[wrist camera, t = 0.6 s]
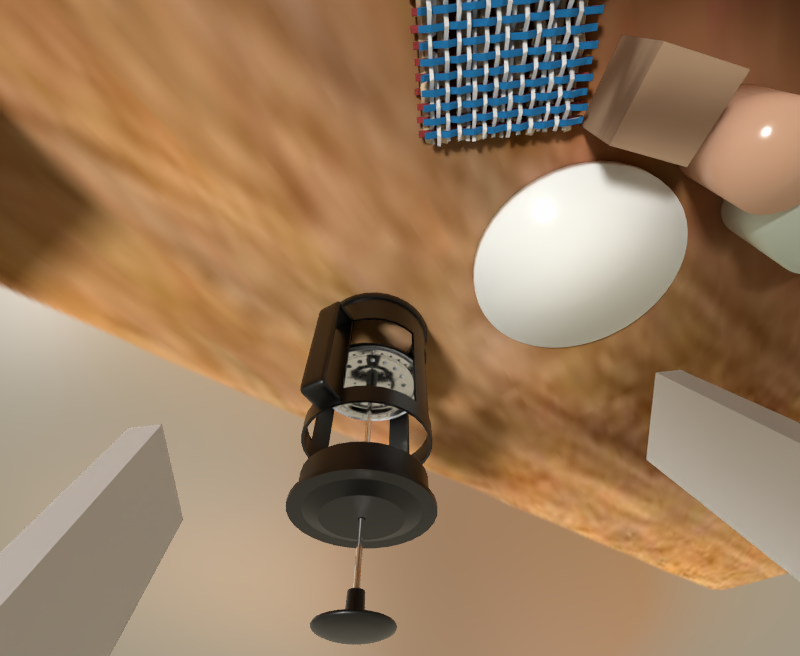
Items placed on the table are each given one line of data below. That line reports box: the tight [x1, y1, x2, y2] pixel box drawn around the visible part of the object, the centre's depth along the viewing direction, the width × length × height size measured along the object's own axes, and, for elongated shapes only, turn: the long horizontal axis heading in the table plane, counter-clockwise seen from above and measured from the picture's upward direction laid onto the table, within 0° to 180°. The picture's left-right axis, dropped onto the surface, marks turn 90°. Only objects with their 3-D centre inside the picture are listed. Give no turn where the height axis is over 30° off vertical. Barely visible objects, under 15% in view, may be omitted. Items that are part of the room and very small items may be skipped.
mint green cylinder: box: [721, 199, 800, 274], centre depth 28 cm, size 6×6×6 cm
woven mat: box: [410, 0, 605, 147], centre depth 24 cm, size 10×11×2 cm
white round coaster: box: [473, 161, 688, 348], centre depth 33 cm, size 16×16×1 cm
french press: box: [286, 293, 437, 644], centre depth 29 cm, size 12×9×23 cm
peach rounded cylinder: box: [678, 84, 800, 215], centre depth 26 cm, size 6×6×6 cm
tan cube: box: [580, 35, 750, 167], centre depth 24 cm, size 5×5×5 cm
